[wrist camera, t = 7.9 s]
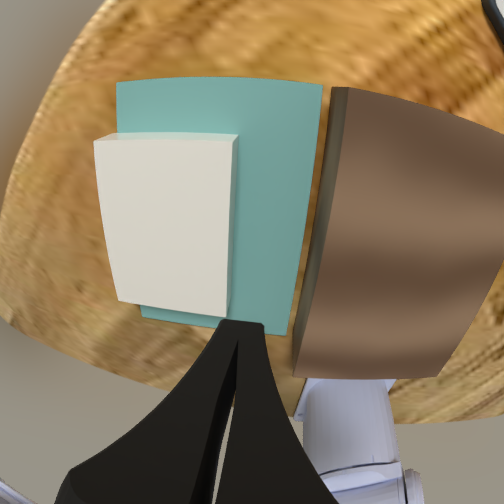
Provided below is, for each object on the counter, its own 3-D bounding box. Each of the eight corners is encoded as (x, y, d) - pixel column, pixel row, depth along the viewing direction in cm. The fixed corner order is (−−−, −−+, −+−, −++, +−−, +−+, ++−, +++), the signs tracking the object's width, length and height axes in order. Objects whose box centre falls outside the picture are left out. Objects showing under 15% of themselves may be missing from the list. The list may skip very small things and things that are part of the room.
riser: (421, 337, 21) (436, 376, 17) (292, 332, 21) (292, 377, 18) (496, 133, 12) (538, 151, 9) (332, 86, 13) (348, 87, 10)
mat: (285, 331, 21) (285, 335, 21) (144, 313, 22) (142, 316, 21) (321, 85, 13) (322, 85, 13) (120, 82, 13) (116, 82, 13)
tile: (118, 300, 18) (130, 282, 20) (226, 317, 18) (231, 296, 19) (93, 141, 13) (112, 133, 15) (232, 142, 13) (238, 134, 14)
